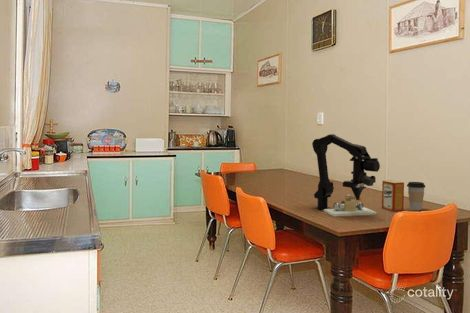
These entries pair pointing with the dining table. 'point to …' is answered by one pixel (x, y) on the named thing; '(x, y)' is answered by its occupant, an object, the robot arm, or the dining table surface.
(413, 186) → the coffee cup
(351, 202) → the valve
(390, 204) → the baking soda box
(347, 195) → the lever
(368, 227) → the dining table surface
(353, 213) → the board
